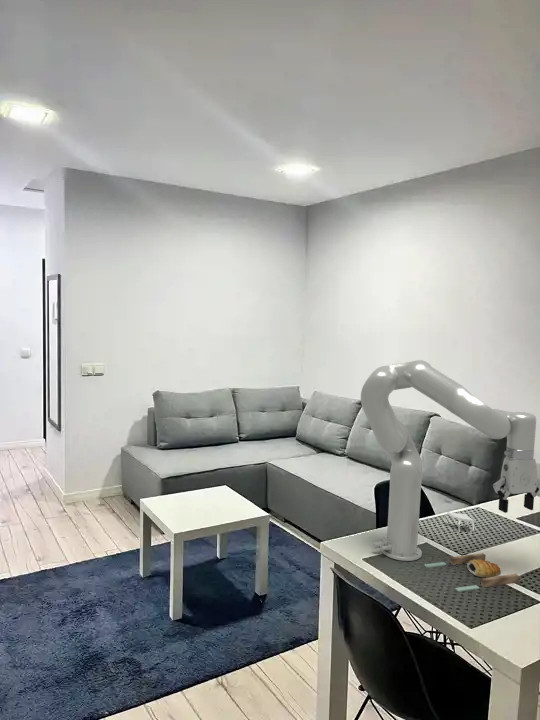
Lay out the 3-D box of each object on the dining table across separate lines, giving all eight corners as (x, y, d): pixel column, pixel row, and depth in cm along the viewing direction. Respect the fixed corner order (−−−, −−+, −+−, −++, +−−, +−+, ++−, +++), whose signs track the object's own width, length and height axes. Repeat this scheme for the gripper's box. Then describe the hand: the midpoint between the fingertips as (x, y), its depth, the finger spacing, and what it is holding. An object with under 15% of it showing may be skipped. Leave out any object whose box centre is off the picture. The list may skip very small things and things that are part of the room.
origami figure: (478, 528, 204) (479, 515, 203) (473, 536, 197) (474, 522, 196) (445, 521, 210) (446, 508, 210) (438, 527, 203) (439, 514, 203)
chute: (483, 587, 159) (484, 580, 159) (450, 563, 174) (450, 557, 174) (518, 582, 163) (518, 575, 163) (482, 559, 178) (483, 553, 178)
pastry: (492, 567, 173) (493, 555, 173) (505, 577, 167) (506, 565, 166) (464, 568, 171) (465, 556, 171) (477, 579, 165) (478, 567, 164)
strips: (458, 592, 156) (458, 590, 156) (424, 565, 172) (424, 564, 172) (479, 589, 158) (479, 587, 158) (443, 563, 174) (443, 562, 174)
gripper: (505, 458, 162) (500, 516, 164) (552, 455, 168) (548, 511, 169) (487, 452, 169) (483, 508, 171) (533, 449, 175) (529, 503, 176)
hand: (515, 509), depth 170 cm, fingers open, 9 cm apart
